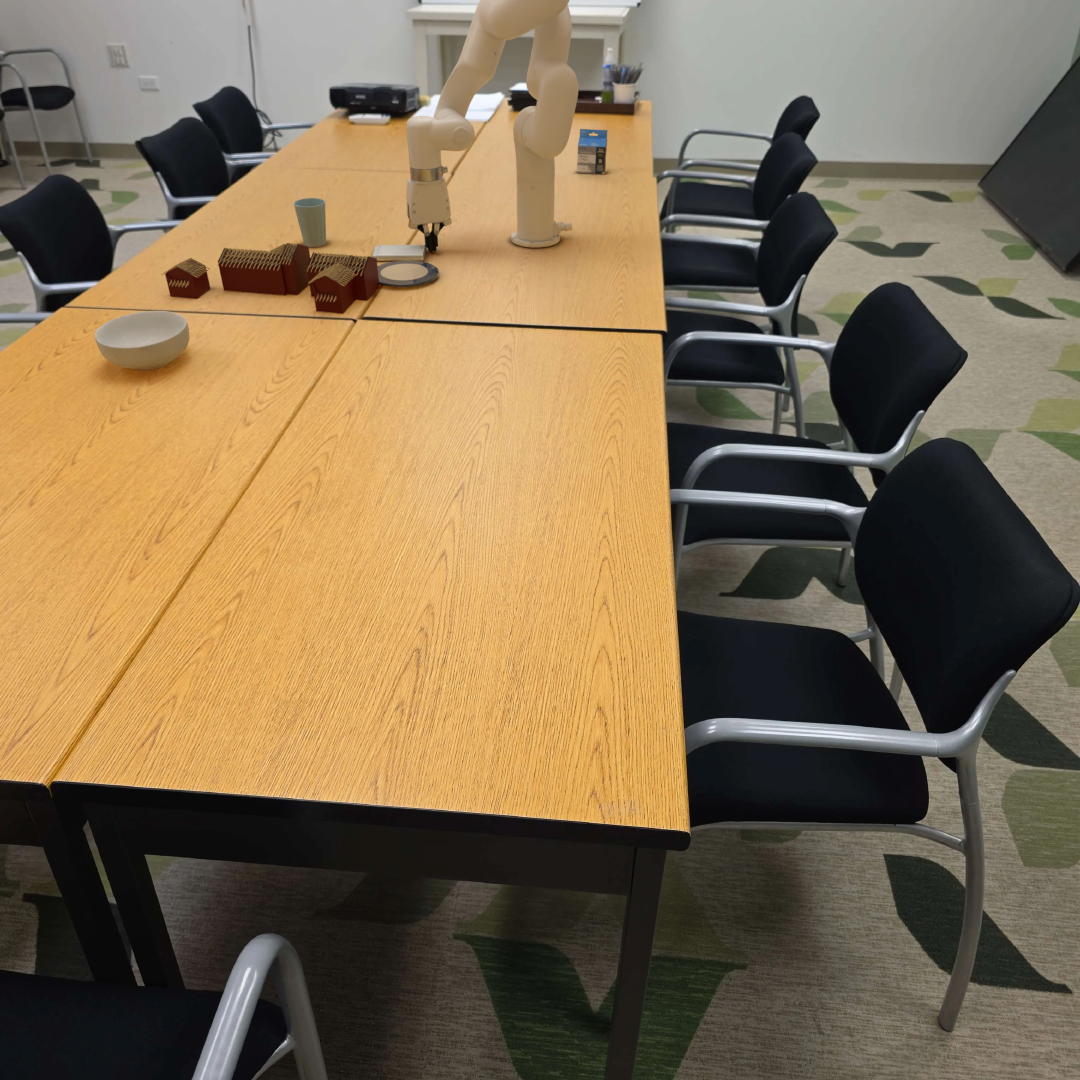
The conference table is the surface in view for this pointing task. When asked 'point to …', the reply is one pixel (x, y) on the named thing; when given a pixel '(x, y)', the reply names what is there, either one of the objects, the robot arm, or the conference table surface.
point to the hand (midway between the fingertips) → (432, 250)
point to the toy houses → (283, 275)
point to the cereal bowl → (143, 339)
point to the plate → (406, 273)
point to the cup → (312, 221)
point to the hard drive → (399, 252)
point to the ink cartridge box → (592, 152)
